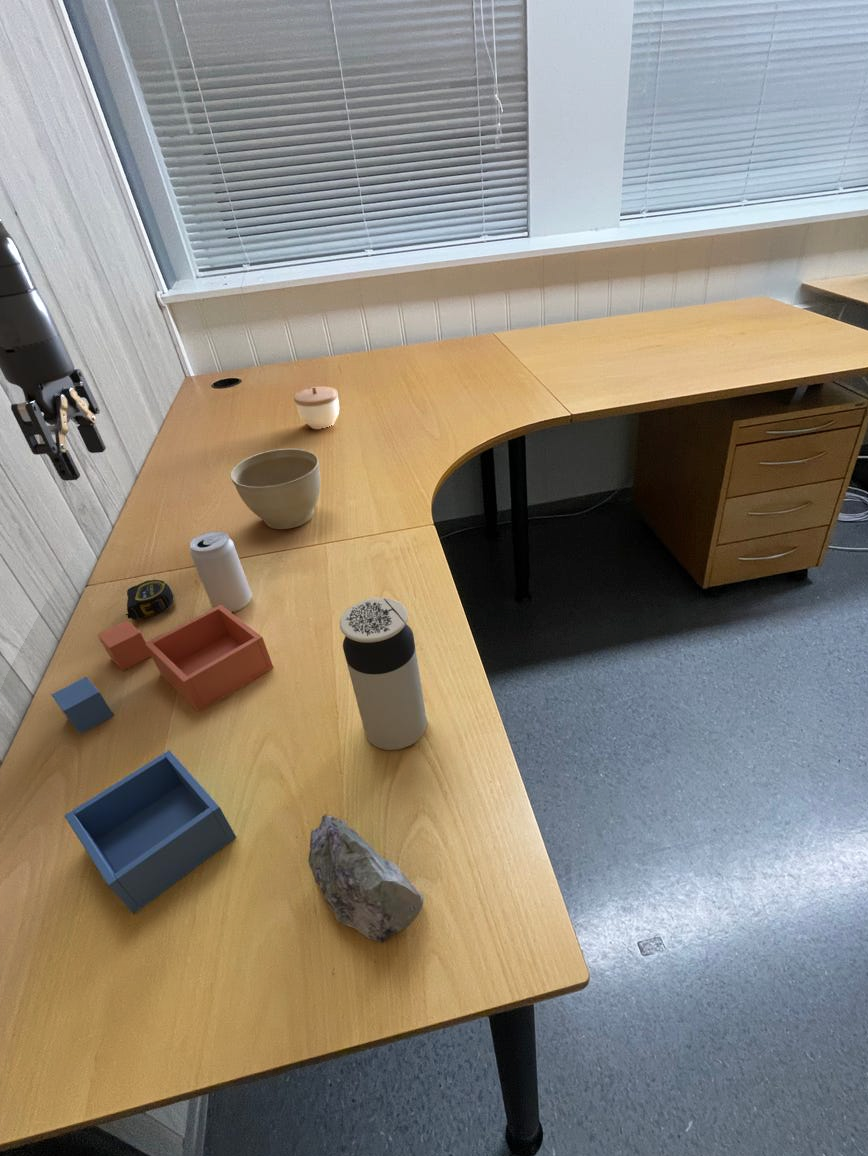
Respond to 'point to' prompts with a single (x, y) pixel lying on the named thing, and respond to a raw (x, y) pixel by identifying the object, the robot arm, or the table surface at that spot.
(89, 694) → the blue block
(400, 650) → the travel mug
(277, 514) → the planter bowl
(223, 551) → the beverage can
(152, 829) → the blue bin
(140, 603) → the tape measure
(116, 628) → the terracotta block
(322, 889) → the mineral rock
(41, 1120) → the table surface
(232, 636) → the terracotta bin
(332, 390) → the trinket box
